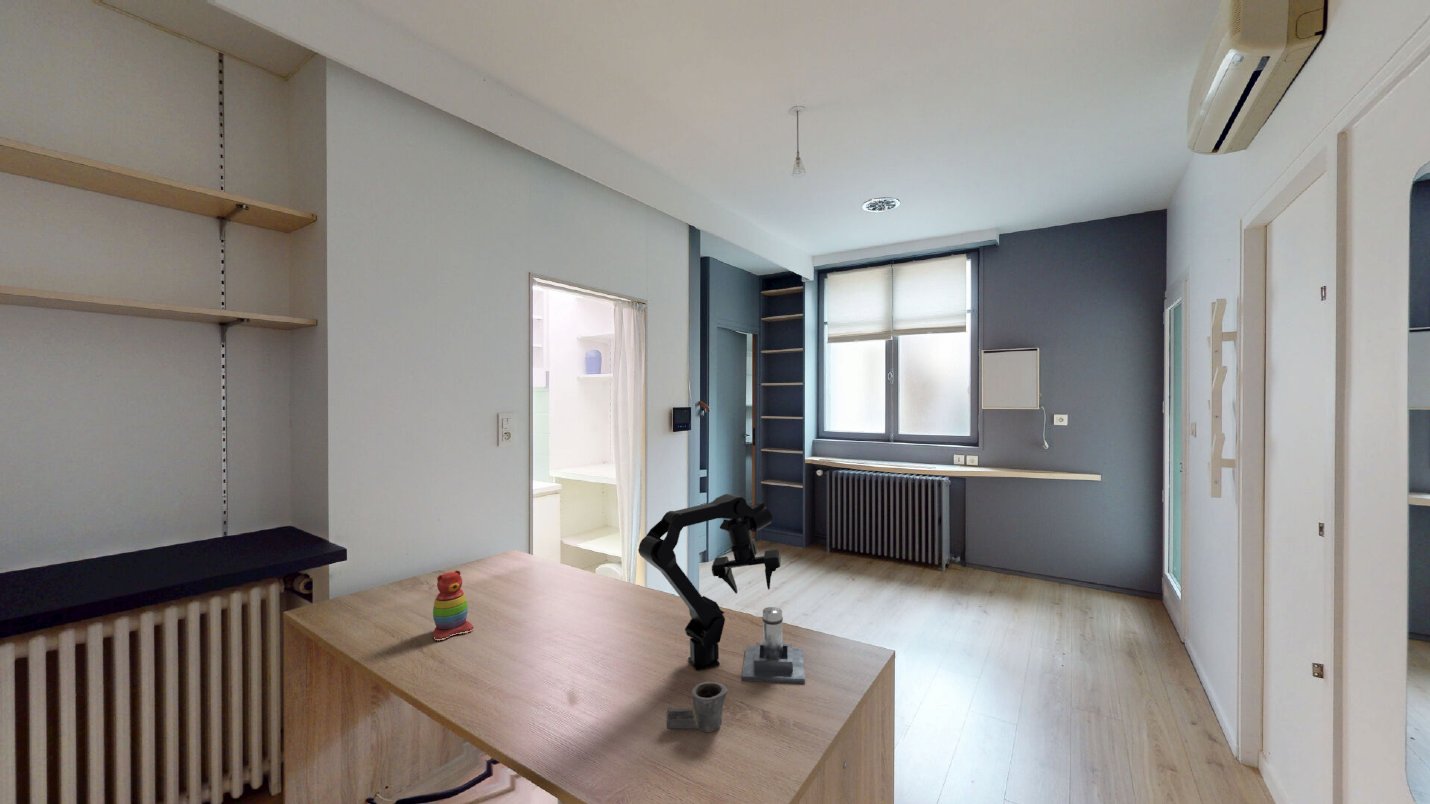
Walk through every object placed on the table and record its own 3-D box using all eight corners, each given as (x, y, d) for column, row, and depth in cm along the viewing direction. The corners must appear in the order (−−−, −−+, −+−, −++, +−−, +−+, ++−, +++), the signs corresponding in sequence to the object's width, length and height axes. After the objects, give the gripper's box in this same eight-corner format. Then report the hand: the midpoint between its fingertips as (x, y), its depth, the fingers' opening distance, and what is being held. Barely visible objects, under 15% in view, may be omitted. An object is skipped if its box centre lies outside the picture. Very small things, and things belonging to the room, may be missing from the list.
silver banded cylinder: (769, 668, 129) (768, 616, 129) (759, 659, 134) (758, 609, 133) (787, 664, 131) (786, 612, 131) (777, 654, 136) (776, 605, 135)
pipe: (666, 722, 110) (665, 684, 110) (726, 717, 112) (725, 680, 112) (666, 741, 104) (665, 701, 104) (729, 735, 106) (728, 696, 106)
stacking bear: (436, 643, 150) (433, 581, 149) (427, 632, 157) (425, 573, 157) (475, 631, 157) (473, 572, 156) (465, 621, 164) (463, 564, 164)
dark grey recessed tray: (742, 680, 126) (741, 666, 126) (746, 650, 141) (746, 637, 141) (805, 683, 124) (804, 668, 124) (802, 652, 139) (802, 639, 139)
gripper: (775, 521, 148) (786, 571, 150) (712, 531, 152) (724, 579, 154) (773, 539, 137) (785, 592, 140) (705, 548, 141) (718, 601, 143)
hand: (752, 590), depth 145 cm, fingers open, 9 cm apart
